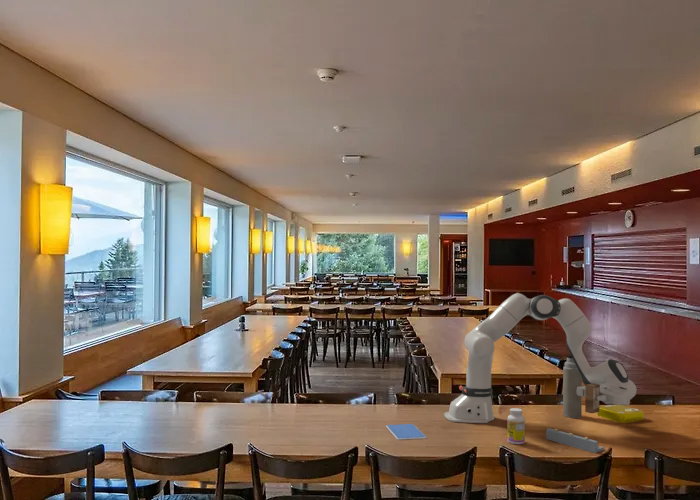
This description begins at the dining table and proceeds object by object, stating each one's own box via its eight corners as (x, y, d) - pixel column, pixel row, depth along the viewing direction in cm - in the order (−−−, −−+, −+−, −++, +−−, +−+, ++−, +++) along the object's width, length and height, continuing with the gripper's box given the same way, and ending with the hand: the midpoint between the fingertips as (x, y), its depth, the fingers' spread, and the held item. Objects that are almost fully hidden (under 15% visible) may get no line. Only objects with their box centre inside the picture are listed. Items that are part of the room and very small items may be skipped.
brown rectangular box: (592, 413, 228) (592, 386, 229) (585, 411, 231) (585, 384, 231) (599, 411, 232) (599, 384, 232) (592, 410, 234) (592, 383, 235)
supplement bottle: (504, 439, 226) (504, 407, 227) (520, 439, 227) (521, 407, 227) (510, 445, 220) (511, 411, 220) (527, 444, 220) (527, 411, 221)
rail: (595, 453, 211) (595, 440, 211) (546, 438, 228) (546, 427, 228) (604, 450, 215) (604, 437, 215) (555, 436, 232) (555, 424, 232)
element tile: (618, 413, 272) (618, 402, 272) (645, 421, 258) (645, 410, 258) (595, 416, 266) (595, 405, 266) (622, 424, 252) (622, 413, 252)
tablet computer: (427, 440, 227) (427, 436, 227) (397, 441, 224) (397, 438, 224) (413, 426, 246) (413, 423, 246) (385, 427, 243) (385, 424, 243)
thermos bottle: (561, 413, 268) (561, 354, 269) (578, 414, 267) (578, 354, 268) (565, 418, 260) (565, 356, 261) (583, 418, 259) (583, 357, 260)
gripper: (587, 381, 248) (568, 384, 240) (633, 390, 231) (615, 394, 223) (586, 395, 247) (568, 399, 239) (633, 406, 231) (614, 410, 223)
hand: (591, 397), depth 231 cm, fingers closed on brown rectangular box, 3 cm apart
